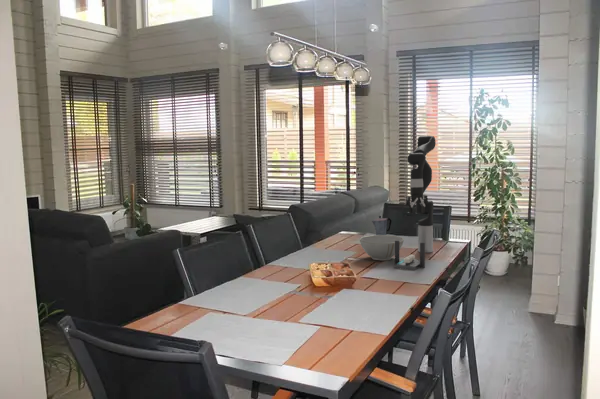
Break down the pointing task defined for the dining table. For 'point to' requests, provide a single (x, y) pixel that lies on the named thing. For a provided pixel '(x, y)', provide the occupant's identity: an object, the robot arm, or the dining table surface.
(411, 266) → the panel
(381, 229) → the moka pot
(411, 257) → the paddles
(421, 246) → the cord post
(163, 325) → the dining table surface
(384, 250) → the decorative bowl
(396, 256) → the dark gray rounded rod
